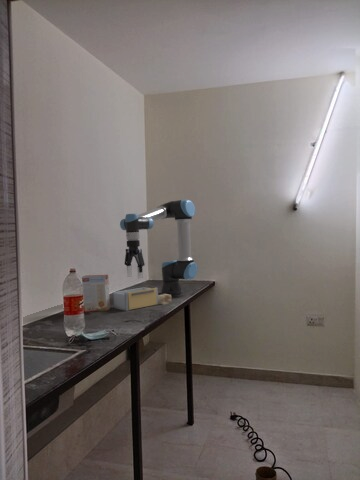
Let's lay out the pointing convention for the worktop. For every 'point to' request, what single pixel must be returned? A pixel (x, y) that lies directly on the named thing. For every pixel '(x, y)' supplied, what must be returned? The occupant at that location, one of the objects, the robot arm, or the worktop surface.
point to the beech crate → (164, 299)
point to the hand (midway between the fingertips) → (134, 277)
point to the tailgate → (142, 298)
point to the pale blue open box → (126, 298)
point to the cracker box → (96, 293)
